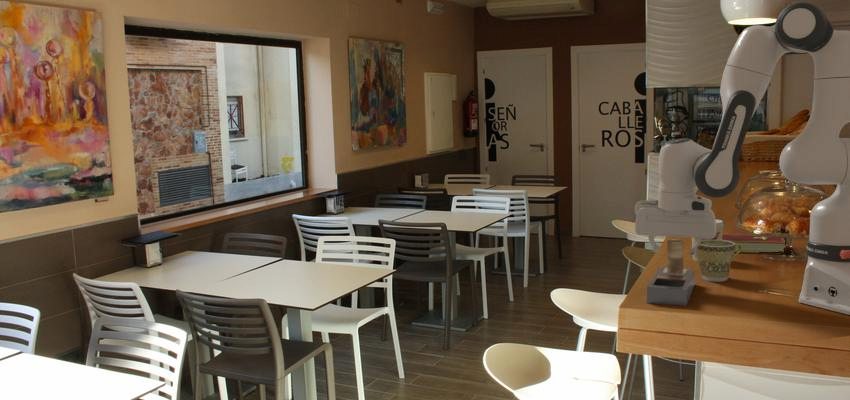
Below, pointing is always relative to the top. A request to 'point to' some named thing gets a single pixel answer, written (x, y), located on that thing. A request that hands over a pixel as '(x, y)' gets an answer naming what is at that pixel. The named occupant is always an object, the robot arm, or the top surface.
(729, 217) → the top surface
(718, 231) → the coffee cup
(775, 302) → the top surface
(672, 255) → the peg
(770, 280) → the top surface
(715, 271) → the ceramic cup
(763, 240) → the hardcover book
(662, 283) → the grey slotted box
